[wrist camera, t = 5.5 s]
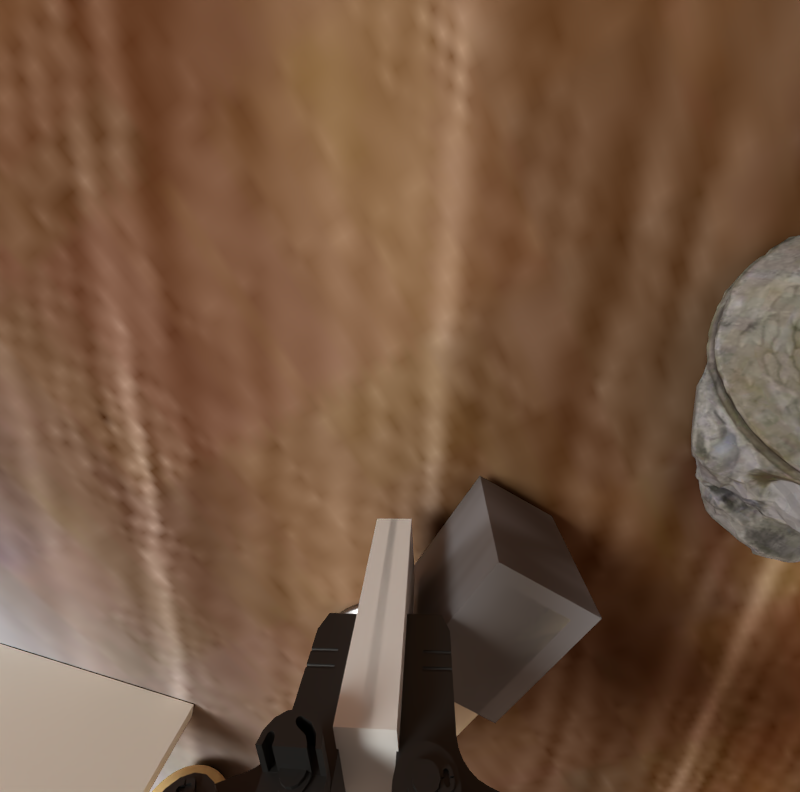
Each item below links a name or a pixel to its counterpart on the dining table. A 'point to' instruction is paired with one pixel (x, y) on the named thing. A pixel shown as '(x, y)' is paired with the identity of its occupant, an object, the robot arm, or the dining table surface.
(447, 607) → the lever
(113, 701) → the frame
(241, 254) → the dining table surface
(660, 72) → the dining table surface
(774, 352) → the fossilized seashell
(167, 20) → the dining table surface
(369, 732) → the robot arm
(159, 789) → the ball
